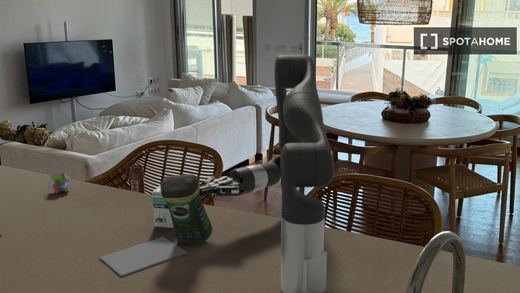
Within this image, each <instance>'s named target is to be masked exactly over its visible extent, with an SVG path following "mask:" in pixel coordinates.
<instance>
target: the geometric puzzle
mask: <svg viewBox="0 0 520 293" xmlns="http://www.w3.org/2000/svg"><path fill="white" fill-rule="evenodd" d="M59 174H60V175H56V174H54V175H50V177H51V179H50V180H51V182H50V183H49V184H48V186H47V188H49V189H51V190H52V189H53V190H54V194H55V196H56V195H58V194H59V193H60V194H62V193H61V192H66V193H67V192H69V190H68V186H69V185H70V184H71V182H72V179H71V176H69V174H66V173H64V172H61V173H59ZM60 194H59V195H60Z"/></svg>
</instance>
